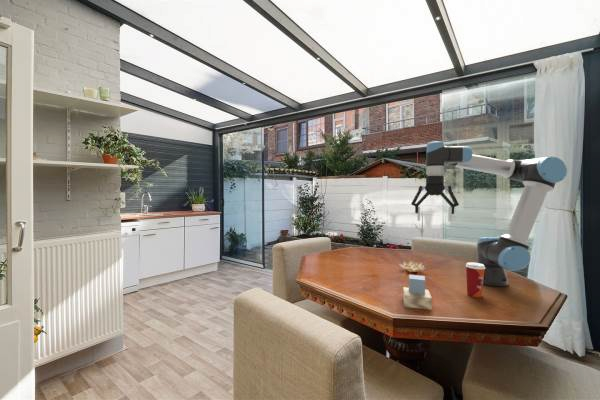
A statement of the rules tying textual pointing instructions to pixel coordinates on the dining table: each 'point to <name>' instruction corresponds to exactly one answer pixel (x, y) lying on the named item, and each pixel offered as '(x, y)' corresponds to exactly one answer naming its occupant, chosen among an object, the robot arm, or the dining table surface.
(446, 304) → the dining table surface
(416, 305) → the maple block
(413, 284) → the slate cube
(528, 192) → the robot arm
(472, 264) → the paper cup
